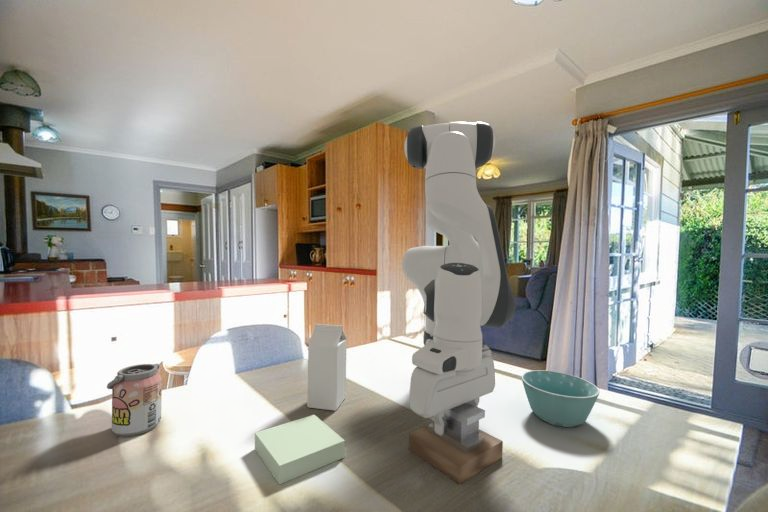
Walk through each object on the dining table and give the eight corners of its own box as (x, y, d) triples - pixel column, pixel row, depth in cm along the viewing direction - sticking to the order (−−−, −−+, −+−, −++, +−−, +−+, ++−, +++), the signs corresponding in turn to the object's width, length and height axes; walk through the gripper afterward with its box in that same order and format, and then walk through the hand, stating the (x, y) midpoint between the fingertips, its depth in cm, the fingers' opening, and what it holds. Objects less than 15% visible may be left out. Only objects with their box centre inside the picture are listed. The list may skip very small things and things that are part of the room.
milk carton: (335, 411, 78) (337, 329, 78) (307, 408, 79) (308, 327, 79) (345, 398, 85) (347, 323, 85) (318, 395, 86) (320, 321, 86)
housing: (445, 423, 68) (446, 393, 68) (484, 443, 61) (484, 410, 61) (428, 430, 65) (428, 399, 64) (466, 453, 57) (467, 418, 57)
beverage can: (97, 432, 67) (97, 372, 67) (140, 413, 75) (141, 359, 75) (129, 442, 64) (129, 379, 64) (170, 421, 72) (171, 365, 71)
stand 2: (451, 429, 71) (451, 415, 71) (502, 457, 62) (502, 441, 62) (408, 449, 64) (409, 433, 64) (459, 484, 54) (460, 465, 54)
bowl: (605, 418, 78) (606, 382, 78) (588, 445, 66) (590, 403, 66) (534, 397, 88) (535, 365, 88) (509, 417, 77) (510, 381, 77)
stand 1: (313, 428, 70) (314, 414, 70) (344, 457, 61) (345, 440, 61) (254, 448, 63) (254, 432, 63) (279, 484, 53) (279, 465, 53)
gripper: (477, 339, 71) (475, 405, 71) (404, 356, 59) (403, 436, 59) (504, 346, 66) (502, 417, 66) (431, 366, 54) (429, 453, 54)
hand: (455, 426), depth 62 cm, fingers open, 6 cm apart
